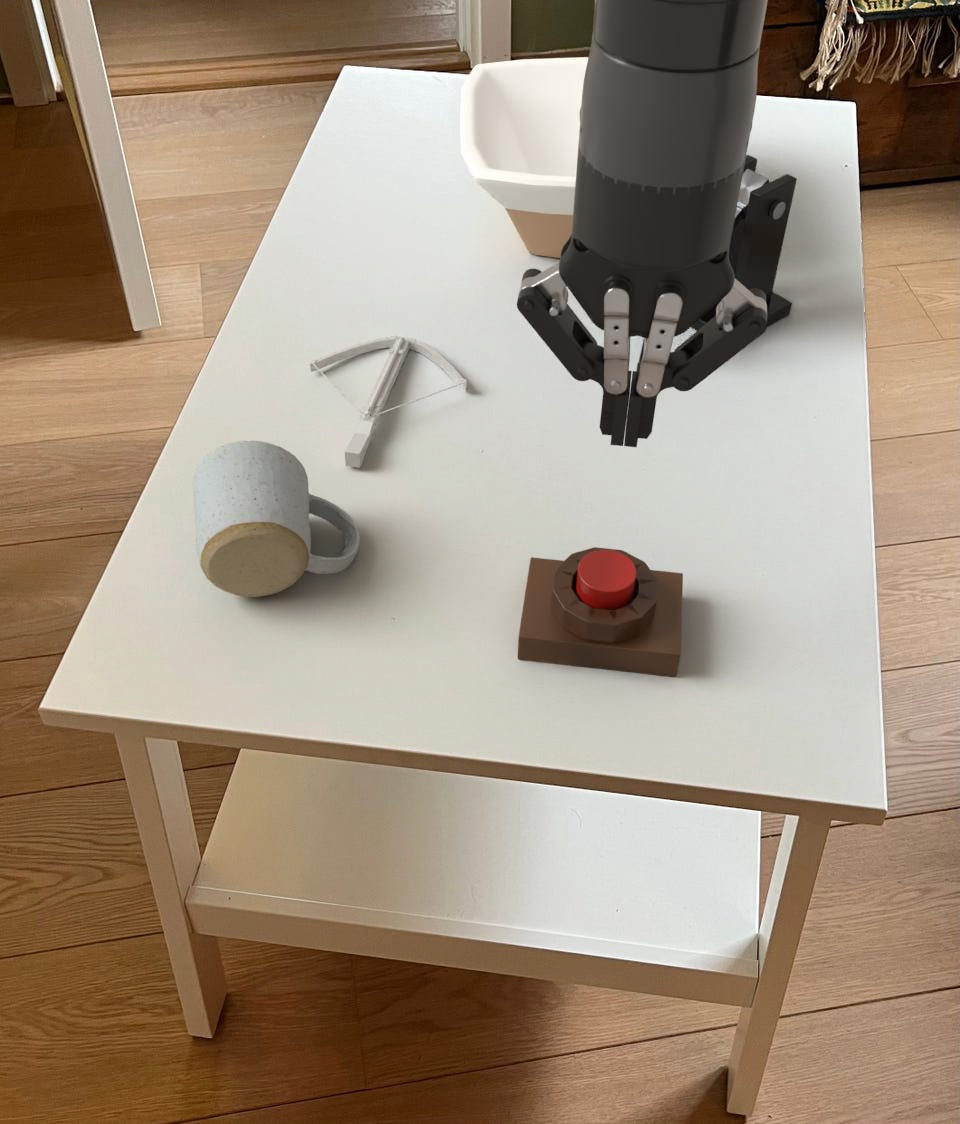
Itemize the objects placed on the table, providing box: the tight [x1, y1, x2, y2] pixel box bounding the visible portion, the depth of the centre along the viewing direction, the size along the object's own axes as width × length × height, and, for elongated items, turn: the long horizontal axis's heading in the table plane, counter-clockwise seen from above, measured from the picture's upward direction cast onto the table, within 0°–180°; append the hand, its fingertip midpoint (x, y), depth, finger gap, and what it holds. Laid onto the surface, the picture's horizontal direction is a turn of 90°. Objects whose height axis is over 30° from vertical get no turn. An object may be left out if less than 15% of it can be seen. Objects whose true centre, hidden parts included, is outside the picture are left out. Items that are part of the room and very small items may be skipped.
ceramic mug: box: [192, 440, 361, 598], centre depth 78 cm, size 11×8×8 cm
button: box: [576, 550, 636, 610], centre depth 74 cm, size 4×4×2 cm
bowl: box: [459, 56, 589, 259], centre depth 108 cm, size 24×25×11 cm
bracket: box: [690, 154, 798, 332], centre depth 97 cm, size 8×7×13 cm
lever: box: [732, 169, 770, 232], centre depth 94 cm, size 14×3×3 cm
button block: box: [517, 546, 684, 678], centre depth 75 cm, size 10×7×4 cm
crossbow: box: [309, 335, 468, 469], centre depth 92 cm, size 16×13×2 cm
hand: (624, 436), depth 65 cm, fingers closed
